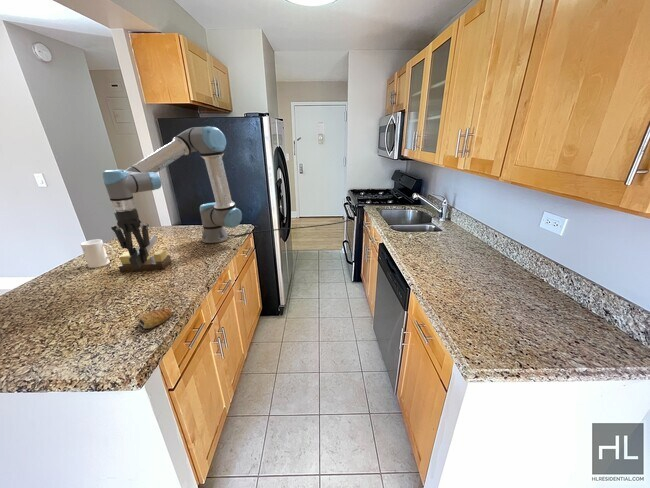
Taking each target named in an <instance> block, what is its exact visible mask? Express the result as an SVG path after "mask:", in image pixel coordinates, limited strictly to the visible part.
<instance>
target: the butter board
mask: <svg viewBox="0 0 650 488" xmlns="http://www.w3.org/2000/svg"><path fill="white" fill-rule="evenodd" d="M166 255H167V254H166ZM170 262H172V257H171V255H170V254H169V255H167V257H166V258H165V259H164V260H163V261H162V262H155V259H154V255H152V256H151V255H150V259H148V260H147V261H146V262H145V263H143V264H142V266H141V267H140V268H137V269H133V267H132V265H131V264H122V263H120V264H119V265H117V266H118V270H119V272H120V273H126V272H127V273H128V272H139V271H155V270H157V271H158V270H164V269H165V268H166V267H167V266H168V265H169V264H170Z"/></svg>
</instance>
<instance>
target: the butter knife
mask: <svg viewBox="0 0 650 488" xmlns="http://www.w3.org/2000/svg"><path fill="white" fill-rule="evenodd" d="M149 241H150V245H149V246H147V247H146V250H147V254H146V258H147V257H148V256H149V255H150V251H151V250H152V249H153V247H154V246H155V244H156V243H157V242H158V238H157V235H156V234H155V233H154V234H153V235H152V236H151V238H149ZM139 248H140V247H139V246H138V247H137V248H136V251H135V252H134V253H133V255H132V256H131V257H130V258H129V261H130V263H131V265H132V267H133V269H137V268H140V267H141V266H142V264H143V263H142V260H141V256H140V253H139V250H138V249H139ZM148 252H149V254H148Z"/></svg>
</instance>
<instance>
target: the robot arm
mask: <svg viewBox="0 0 650 488" xmlns="http://www.w3.org/2000/svg"><path fill="white" fill-rule="evenodd" d="M226 146H227V139H226V136H225V134H224V133H223V132H222V130H220V129H219V128H218V127H215V126H208V125H207V126H193V127H190V128H188V129H185V130H184V131H182V132H180V133H179V134H177V135H175V136H174V137H172V141H170V142H169V143H167V144H165V145H164V146H162V147H160V148H159V149H157V150H155V151H154V152H152V153H151V154H149V155H147V156H146V157H144V158H143V159H141V160H140V161H138V162H136V163H134V164H133V165H131V166H129V167H128V168H126V169H108V170H104V171H102V179H103V184H104V185H105V188H106V192H107V195H108V197H109V201H110V204H111V207H112V210H113V212H114V217H115V220H116V221H117V222H116V224H115V225H113V226H111V227H110V228H111V230H112V231H113V232H114V234H115V236H116V239H117V241H118V243H119V245H120V247H121V249H126V250H127V252H129V254H130V256H132V255H133V253H134V252H135V251H136V250H137V248H136V247H134V246H135V245H133V243H134V242H133V238H132V235H133V236H134V238H135V240H136V242H137V244H138V247H140V248H139V249H138V250H139V253H140V256H141V260H142V263H145V262H146V261H147V258H146V254H147V250H146V247H147V246H149V245H150V241H149V240H150V235H149V223H143V222H142V221H141V220H140V218H139V217H140V216H139V213H138V209H137V206H136V202H135V199H134V194H136V193H142V192H150V191H155V190H159V189H161V187H162V184H163V183H162V178H161V176H160V175H159V174H158V172H160V171H161V170H163V169H164V168H166V167H168V166H169V165H170V164H172V163H173V162H175V161H177V160H178V159H179V158H181V157H182V156H188V155H190V154H191V153H194V152H199V155H200V157H201V158H202V159H203V160H204V163H205V166H206V170H207V173H208V178H209V182H210V185H211V189H212V193H213V197H214V200H215V202H214V201H213V202H207V203H203V204H200V206H199V214H200V218H201V224H202V229H203V230H202V232H201V241H202V243H204V244H219V243H223V242H225V241H227V240H228V239H229V237H241V236H245V235H250V234H256V233H266V232H275V231H285V230H296V229H306V228H318V227H325V226H331V225H338V224H344V223H346V222H350V223H351V222H352V221H351V219H345V220H344V221H338V222H332V223H326V224H316V225H308V226H296V227H287V228H286V227H285V228H284V227H283V228H275V229H265V230H258V231H249V232H244V233H241V234H229V233H228V232H227V230H226V229H225V228H228V229H229V228H231V229H233V228H237V227H239V225H240V223H241V222H242V220H243V213H242V210H240V209H239V208H237V205H236V202H235V201H233V200H232V195H231V191H230V187H229V182H228V178H227V173H226V169H225V165H224V161H223V156H224V155H225V152H224V150H225V149H226ZM140 229H141V230H140Z"/></svg>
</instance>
